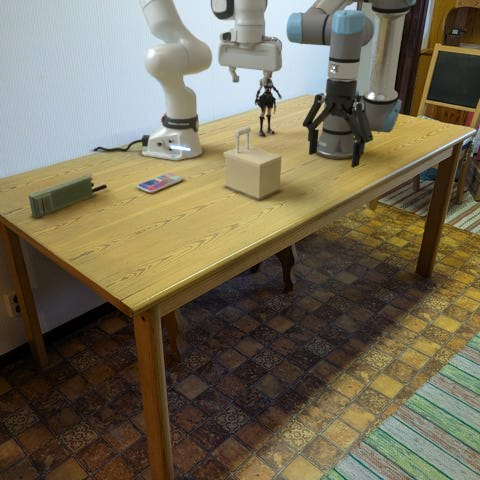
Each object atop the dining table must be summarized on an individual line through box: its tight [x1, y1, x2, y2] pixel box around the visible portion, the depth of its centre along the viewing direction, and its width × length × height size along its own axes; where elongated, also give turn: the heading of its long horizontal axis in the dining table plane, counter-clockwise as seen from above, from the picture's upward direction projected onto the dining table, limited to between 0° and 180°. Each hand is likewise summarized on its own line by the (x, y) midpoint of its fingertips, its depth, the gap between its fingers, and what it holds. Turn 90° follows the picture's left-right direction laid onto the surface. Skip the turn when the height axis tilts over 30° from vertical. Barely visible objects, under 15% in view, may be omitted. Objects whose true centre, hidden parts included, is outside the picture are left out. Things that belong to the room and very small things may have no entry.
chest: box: [224, 156, 282, 201], centre depth 159 cm, size 14×10×10 cm
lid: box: [223, 126, 282, 168], centre depth 155 cm, size 15×10×8 cm
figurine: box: [254, 71, 283, 137], centre depth 204 cm, size 15×6×30 cm, turn 132°
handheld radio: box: [28, 173, 108, 219], centre depth 150 cm, size 7×3×25 cm
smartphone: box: [136, 172, 184, 194], centre depth 164 cm, size 7×1×15 cm
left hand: (249, 83), depth 153 cm, fingers open, 8 cm apart
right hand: (333, 159), depth 136 cm, fingers open, 13 cm apart
